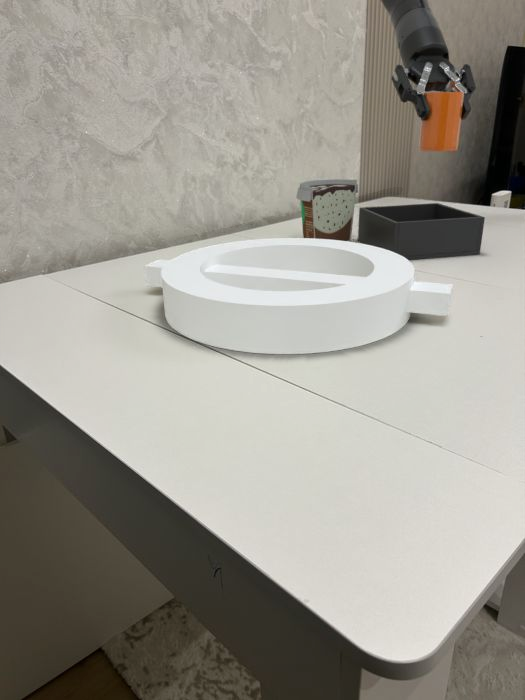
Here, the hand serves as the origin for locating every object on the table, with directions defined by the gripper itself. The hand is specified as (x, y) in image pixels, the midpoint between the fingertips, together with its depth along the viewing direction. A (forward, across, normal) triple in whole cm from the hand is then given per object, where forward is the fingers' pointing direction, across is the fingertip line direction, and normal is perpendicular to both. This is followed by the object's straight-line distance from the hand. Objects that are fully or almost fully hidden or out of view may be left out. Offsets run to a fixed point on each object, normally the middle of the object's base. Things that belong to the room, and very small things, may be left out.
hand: (446, 116), depth 91 cm
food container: (+16, -23, +11) cm, 30 cm away
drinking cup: (+3, 0, +5) cm, 6 cm away
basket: (+21, -9, +6) cm, 23 cm away
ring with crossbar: (+37, -36, -9) cm, 52 cm away
